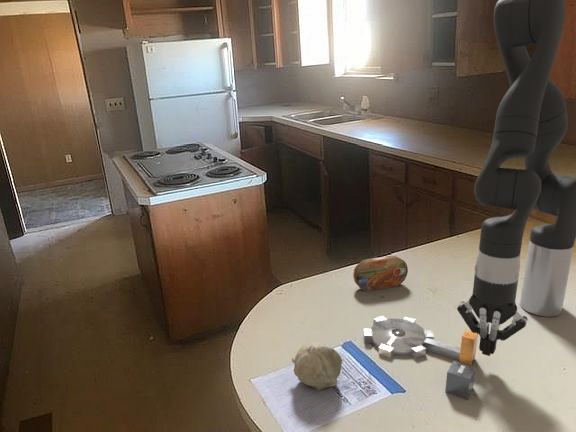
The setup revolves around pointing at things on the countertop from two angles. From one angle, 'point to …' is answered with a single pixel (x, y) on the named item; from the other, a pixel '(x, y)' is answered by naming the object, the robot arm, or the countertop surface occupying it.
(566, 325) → the countertop surface
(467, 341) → the drive pin
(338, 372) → the garlic bulb
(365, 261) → the tin
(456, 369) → the grey cube with slot
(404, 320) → the sprocket
